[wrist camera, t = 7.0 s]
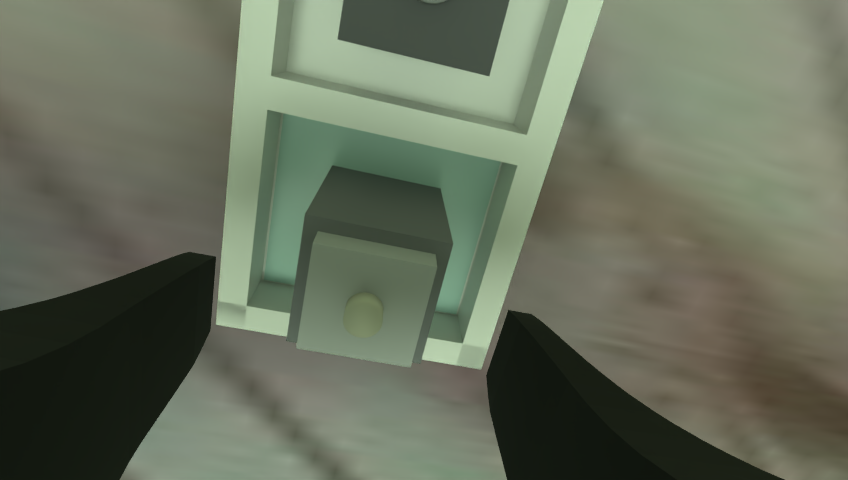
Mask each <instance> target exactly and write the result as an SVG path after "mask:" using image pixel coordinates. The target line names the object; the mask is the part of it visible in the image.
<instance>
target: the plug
mask: <svg viewBox="0 0 848 480" xmlns="http://www.w3.org/2000/svg"><path fill="white" fill-rule="evenodd" d="M509 1H510V0H343V6H342V12H341V19H340V26H339V32H338V39H337V40H341V41H346V42H350V43H354V44H358V45H362V46H366V47H370V48H374V49H378V50H382V51H387V52H391V53H395V54H399V55H403V56H407V57H411V58H415V59H419V60H424V61H428V62H432V63H436V64H440V65H444V66H448V67H452V68H456V69H461V70H465V71H469V72H473V73H477V74H481V75H485V76H490V72H491V68H492V65H493V61H494V57H495V53H496V50H497V46H498V42H499V38H500V35H501V31H502V27H503V23H504V20H505V16H506V12H507V8H508V5H509Z"/></svg>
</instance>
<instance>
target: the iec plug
mask: <svg viewBox="0 0 848 480" xmlns="http://www.w3.org/2000/svg"><path fill="white" fill-rule="evenodd" d="M452 247H453V240H452V236H451V231H450V227H449V223H448V219H447V214H446V210H445V206H444V201H443V197H442V193H441V188H436V187H432V186H427V185H422V184H418V183H413V182H408V181H404V180H399V179H394V178H389V177H385V176H380V175H375V174H371V173H366V172H361V171H357V170H352V169H347V168H343V167H338V166H333V165H332V167H331V168H330V170H329V172H328V174H327V176H326V177H325V179H324V181H323V183H322V185H321V186H320V188H319V190H318V192H317V193H316V195H315V197H314V199H313V201H312V202H311V204H310V206H309V208H308V209H307V211H306V213H305V217H304V223H303V230H302V237H301V244H300V251H299V257H298V264H297V271H296V278H295V285H294V291H293V298H292V305H291V312H290V319H289V325H288V332H287V339H286V341H289V342H295V343H297V346H296V348H297V349H303V350H309V351H315V352H321V353H327V354H333V355H339V356H345V357H351V358H357V359H363V360H369V361H375V362H381V363H387V364H393V365H399V366H405V367H411V364H412V362H413V363H419V364H420V363H421V360H422V356H423V352H424V349H425V345H426V342H427V338H428V334H429V331H430V327H431V323H432V320H433V316H434V312H435V309H436V305H437V302H438V298H439V294H440V291H441V287H442V283H443V280H444V276H445V273H446V269H447V265H448V262H449V258H450V254H451V251H452Z"/></svg>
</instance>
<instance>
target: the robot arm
mask: <svg viewBox="0 0 848 480" xmlns="http://www.w3.org/2000/svg"><path fill="white" fill-rule="evenodd" d="M215 262H216V257H214V256H209V255H203V254H198V253H192V252H187V253H183V254H180V255H177V256H174V257H171V258H169V259H166V260H163V261H161V262H158V263H155V264H153V265H150V266H148V267H145V268H142V269H140V270H137V271H134V272H132V273H129V274H126V275H124V276H121V277H118V278H116V279H113V280H110V281H107V282H104V283H101V284H98V285H95V286H92V287H89V288H86V289H83V290H80V291H77V292H74V293H70V294H67V295H63V296H60V297H56V298H53V299H49V300H45V301H41V302H37V303H33V304H29V305H25V306H21V307H17V308H12V309H8V310H3V311H0V480H120V478H121V476H122V474H123V472H124V470H125V468H126V467H127V465H128V463H129V461H130V460H131V458H132V456H133V455H134V453H135V451H136V450H137V448H138V447H139V445H140V443H141V442H142V440H143V439H144V437H145V436H146V435H147V433H148V432H149V430H150V429H151V427H152V426H153V424H154V423H155V421H156V420H157V418H158V417H159V415H160V414H161V413H162V411H163V410H164V408H165V407H166V405H167V404H168V402H169V401H170V399H171V398H172V396H173V395H174V393H175V392H176V390H177V389H178V387H179V386H180V384H181V383H182V382H183V380H184V379H185V377H186V376H187V374H188V373H189V371H190V369H191V368H192V366H193V365H194V363H195V361H196V359H197V357H198V355H199V353H200V351H201V349H202V347H203V345H204V343H205V340H206V338H207V336H208V334H209V332H210V328H211V315H212V302H213V289H214V275H215ZM486 376H487V388H488V398H489V406H490V413H491V417H492V421H493V425H494V429H495V434H496V438H497V442H498V446H499V449H500V453H501V457H502V461H503V465H504V469H505V473H506V477H507V480H784V479H782V478H779V477H777V476H775V475H772V474H770V473H767V472H765V471H763V470H761V469H759V468H756V467H754V466H752V465H750V464H748V463H746V462H744V461H742V460H740V459H738V458H736V457H734V456H732V455H730V454H728V453H726V452H724V451H722V450H720V449H718V448H716V447H714V446H712V445H710V444H709V443H707V442H705V441H703V440H701V439H699V438H698V437H696V436H694V435H692V434H691V433H689V432H687V431H686V430H684V429H682V428H680V427H679V426H677V425H675V424H673V423H672V422H670V421H669V420H667V419H665V418H664V417H662V416H661V415H659V414H657V413H656V412H654V411H653V410H651V409H650V408H648V407H647V406H645V405H644V404H643V403H641V402H640V401H638V400H637V399H635V398H634V397H632V396H631V395H629V394H628V393H627V392H625V391H624V390H623V389H621V388H620V387H619V386H617V385H616V384H615V383H613V382H612V381H611V380H610V379H608V378H607V377H606V376H605V375H603V374H602V373H601V372H599V371H598V370H597V369H596V368H595V367H593V366H592V365H591V364H590V363H589V362H587V361H586V360H585V359H584V358H583V357H582V356H580V355H579V354H578V353H577V352H576V351H575V350H574V349H572V348H571V347H570V346H569V345H568V344H567V343H566V342H564V341H563V340H562V339H561V338H560V337H559V336H558V335H557V334H555V333H554V332H553V331H552V330H551V329H550V328H549V327H547V326H546V325H545V324H544V323H543V322H541V321H540V320H539V319H538V318H536V317H535V316H533V315H532V314H527V313H522V312H516V311H511V310H508V313H507V316H506V319H505V322H504V325H503V328H502V331H501V334H500V337H499V340H498V343H497V346H496V349H495V351H494V354H493V357H492V360H491V363H490V366H489V369H488V372H487V375H486Z"/></svg>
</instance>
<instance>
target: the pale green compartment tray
mask: <svg viewBox="0 0 848 480" xmlns="http://www.w3.org/2000/svg"><path fill="white" fill-rule="evenodd" d="M603 1H604V0H510V1H509V5H508V8H507V12H506V16H505V20H504V23H503V27H502V31H501V35H500V38H499V42H498V46H497V50H496V53H495V57H494V61H493V65H492V68H491V72H490V76H485V75H481V74H477V73H473V72H469V71H465V70H461V69H456V68H452V67H448V66H444V65H440V64H436V63H432V62H428V61H424V60H419V59H415V58H411V57H407V56H403V55H399V54H395V53H391V52H387V51H382V50H378V49H374V48H370V47H366V46H362V45H358V44H354V43H350V42H346V41H341V40H337V39H338V32H339V26H340V19H341V12H342V6H343V0H242V6H241V18H240V31H239V43H238V56H237V68H236V81H235V93H234V106H233V118H232V131H231V143H230V156H229V168H228V181H227V193H226V206H225V218H224V231H223V243H222V255H221V268H220V280H219V293H218V305H217V318H216V325H221V326H227V327H233V328H239V329H245V330H251V331H257V332H263V333H269V334H275V335H281V336H287V332H288V325H289V319H290V312H291V305H292V298H293V291H294V285H295V278H296V271H297V264H298V257H299V251H300V244H301V237H302V230H303V223H304V217H305V213H306V211H307V209H308V208H309V206H310V204H311V202H312V201H313V199H314V197H315V195H316V193H317V192H318V190H319V188H320V186H321V185H322V183H323V181H324V179H325V177H326V176H327V174H328V172H329V170H330V168H331V167H332V165H333V166H338V167H343V168H347V169H352V170H357V171H361V172H366V173H371V174H375V175H380V176H385V177H389V178H394V179H399V180H404V181H408V182H413V183H418V184H422V185H427V186H432V187H436V188H441V193H442V197H443V201H444V206H445V210H446V214H447V219H448V223H449V227H450V231H451V236H452V240H453V247H452V251H451V254H450V258H449V262H448V265H447V269H446V273H445V276H444V280H443V283H442V287H441V291H440V294H439V298H438V302H437V305H436V309H435V312H434V316H433V320H432V323H431V327H430V331H429V334H428V338H427V342H426V345H425V349H424V352H423V356H422V359H423V360H429V361H435V362H441V363H446V364H452V365H458V366H464V367H470V368H476V369H481V368H482V365H483V362H484V359H485V356H486V353H487V350H488V347H489V344H490V341H491V338H492V335H493V332H494V329H495V326H496V323H497V320H498V317H499V314H500V311H501V308H502V305H503V302H504V299H505V296H506V293H507V290H508V287H509V284H510V281H511V278H512V275H513V272H514V269H515V266H516V263H517V260H518V257H519V254H520V251H521V248H522V245H523V242H524V239H525V236H526V233H527V230H528V227H529V224H530V221H531V218H532V215H533V212H534V209H535V206H536V203H537V200H538V197H539V194H540V191H541V188H542V185H543V182H544V179H545V176H546V173H547V170H548V167H549V164H550V161H551V158H552V155H553V152H554V149H555V146H556V143H557V140H558V137H559V134H560V131H561V128H562V125H563V122H564V118H565V115H566V112H567V109H568V106H569V103H570V100H571V97H572V94H573V91H574V88H575V85H576V82H577V79H578V76H579V73H580V70H581V67H582V64H583V61H584V58H585V55H586V52H587V49H588V46H589V43H590V40H591V37H592V34H593V31H594V28H595V25H596V22H597V19H598V16H599V13H600V10H601V7H602V4H603Z"/></svg>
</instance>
